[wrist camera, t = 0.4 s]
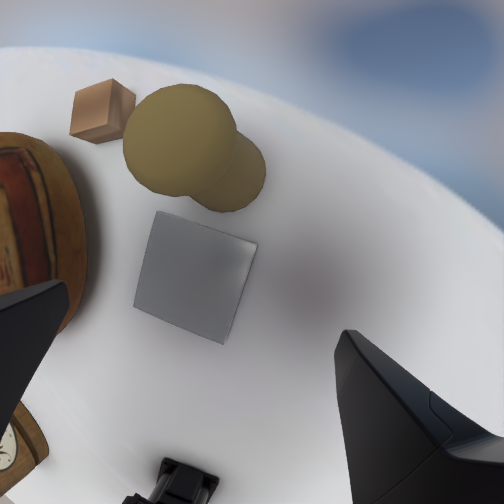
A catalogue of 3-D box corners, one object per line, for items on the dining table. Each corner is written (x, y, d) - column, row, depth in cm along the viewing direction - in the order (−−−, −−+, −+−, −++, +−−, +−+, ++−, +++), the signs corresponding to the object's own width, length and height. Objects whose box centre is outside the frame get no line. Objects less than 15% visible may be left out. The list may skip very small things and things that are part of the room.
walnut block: (133, 136, 22) (107, 123, 18) (97, 144, 23) (69, 135, 19) (136, 95, 22) (112, 78, 18) (100, 105, 22) (75, 92, 18)
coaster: (225, 340, 23) (223, 344, 22) (137, 304, 23) (133, 306, 23) (257, 244, 21) (256, 245, 21) (161, 211, 22) (156, 211, 21)
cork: (180, 146, 22) (98, 95, 11) (255, 125, 21) (222, 46, 10) (195, 220, 22) (111, 221, 11) (274, 202, 21) (254, 180, 10)
